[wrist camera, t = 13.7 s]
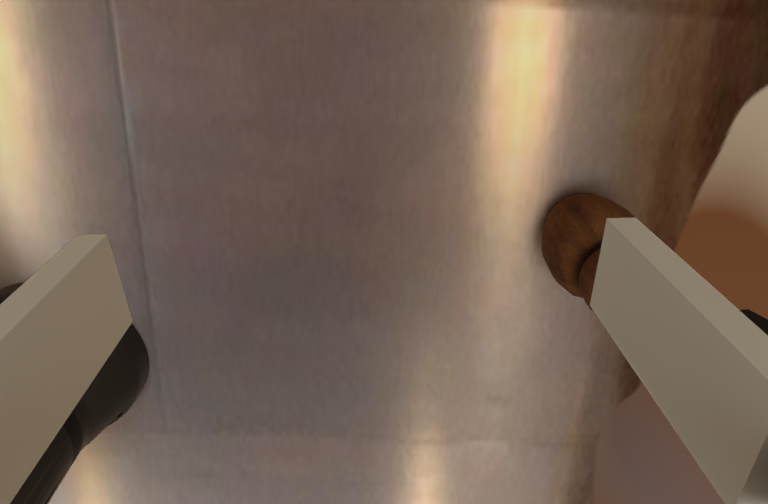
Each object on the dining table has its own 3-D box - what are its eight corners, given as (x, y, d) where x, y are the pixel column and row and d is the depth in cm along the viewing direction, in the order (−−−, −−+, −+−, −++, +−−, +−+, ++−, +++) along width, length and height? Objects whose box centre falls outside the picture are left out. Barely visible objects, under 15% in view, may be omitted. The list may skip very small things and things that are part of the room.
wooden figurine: (557, 171, 40) (646, 271, 27) (624, 192, 41) (743, 299, 27) (520, 247, 43) (583, 370, 30) (584, 265, 44) (673, 392, 30)
